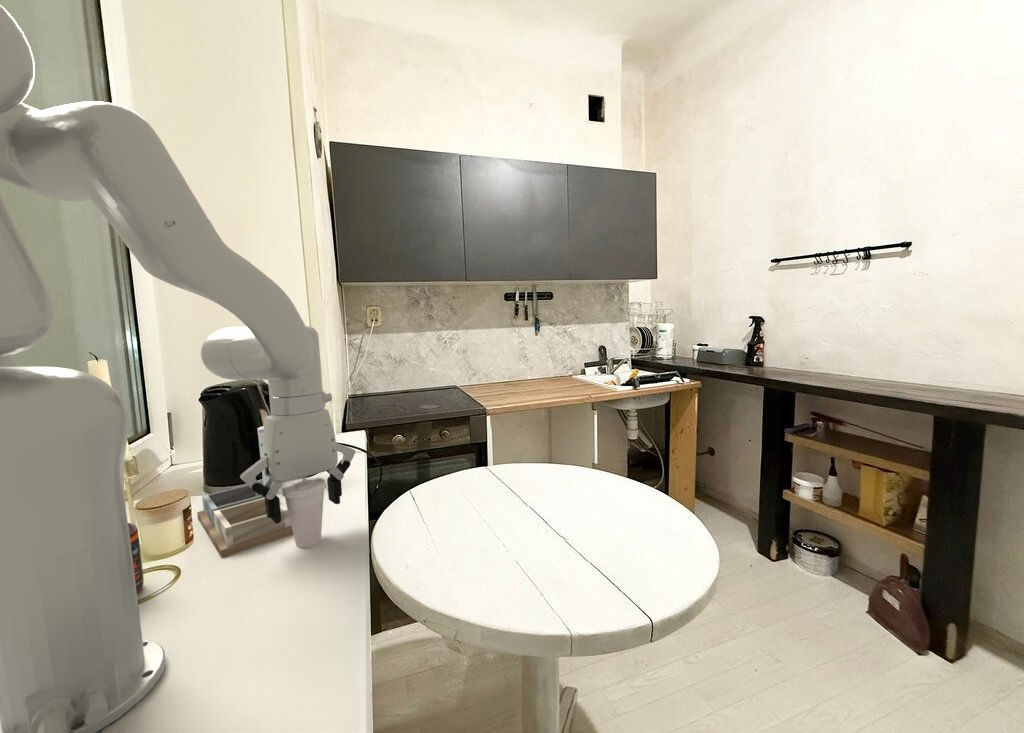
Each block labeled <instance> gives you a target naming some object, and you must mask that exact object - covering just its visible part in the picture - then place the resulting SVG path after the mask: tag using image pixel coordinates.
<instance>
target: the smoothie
mask: <svg viewBox="0 0 1024 733" xmlns="http://www.w3.org/2000/svg"><path fill="white" fill-rule="evenodd" d="M326 488H327V485H326V480H325V479H324V478H321V477H307V476H306V477H302V479H299V480H295V481H292V482H290V483H287V484H286V485H284V486H283V487H282V493H281V496H282V497H284V500H285V504H286V505H285V506H286V507H287V509H288V513H289V517H290V522H291V526H292V530H293V534H292V535H293V538H294V543H295V546H296V547H297V548H300V549H303V548H304V549H305V548H310V547H313V546H316V545H317V544H319V543H320V542H321V541H322V527H323V512H324V511H323V510H324V496H325V495H324V492H325V489H326Z"/></svg>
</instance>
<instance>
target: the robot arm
mask: <svg viewBox="0 0 1024 733" xmlns="http://www.w3.org/2000/svg"><path fill="white" fill-rule="evenodd" d="M35 67H36V66H35V59H34V56H33V52H32V49H31V46H30V44H29V42H28V39H27V38H26V35H25V33H24V31H23V30H22V29H21V27H20V26H19V25H18V23H17V21H16V19H15V18H14V17H13V16H12V15H11V13H9V12H8V11H7V10H6V8H4V7H3V6H2V5H1V4H0V181H2V182H5V183H7V184H10V185H12V186H15V187H18V188H20V189H23V190H26V191H29V192H32V193H34V194H37V195H40V196H43V197H44V196H45V197H48V198H50V199H51V198H52V199H55V200H58V201H64V202H68V201H69V202H84V201H92V203H93V204H94V205H95V206H96V208H97V209H98V210H99V211H100V212H101V214H102V215H103V217H104V218H105V220H106V221H107V222H108V223H109V225H110V226H111V227H112V229H113V230H114V231H115V232H116V234H117V235H118V237H119V238H120V239H121V240H122V242H123V243H124V244H125V246H126V247H127V248H128V250H129V251H130V252H131V254H132V256H134V258H135V260H137V262H138V263H139V265H140V266H141V267H142V269H143V270H145V272H146V273H148V274H149V275H151V276H152V277H154V278H156V279H158V280H160V281H163V282H164V283H167V284H169V285H171V286H174V287H176V288H179V289H181V290H185V291H187V292H189V293H192V294H195V295H198V296H200V297H203V298H204V299H207V300H209V301H212V302H214V303H216V304H217V305H219V306H220V307H222V308H223V309H225V310H227V311H228V312H230V313H231V314H233V315H234V316H235V317H236V318H237V319H238V320H239V321H241V322H242V323H243V324H244V325H236V326H227V327H223V328H220V329H217V330H216V331H214V332H212V333H210V334H209V335H208V336H207V337H206V338H205V340H204V341H203V342H202V345H201V348H200V349H201V350H200V357H201V361H202V363H203V365H204V367H205V368H206V369H207V370H208V371H209V372H210V373H211V374H213V375H215V376H217V377H219V378H222V379H227V380H231V381H233V380H234V381H259V380H260V381H261V380H262V381H267V382H268V384H267V385H268V394H269V396H268V397H269V408H270V415H267V416H265V417H264V422H263V426H264V430H263V457H262V458H261V457H260V459H259V460H258V461H256V462H255V463H254V464H252V465H251V466H249V468H247V469H246V470H245V471H243V472H242V473H241V474H240V476H239V478H240V479H241V480H242V481H243V482H244V484H245V485H248V486H249V487H250V488H251V489H252V490H253V491H254V492H256V493H258V494H260V495H262V496H264V497H265V506H266V515H267V517H268V518H271V519H272V520H273V521H274V522H275V523H276V524H277V523H280V522H281V510H280V502H281V501H280V500H281V499H280V497H279V496H278V495H277V494H278V493H277V492H278V490H279V488H280V487H281V485H282V483H283V482H286V481H291V480H295V479H298V478H302V477H306V478H307V477H309V476H314V475H317V474H320V473H324V472H327V473H328V474H329V476H328V477H327V479H326V481H327V492H328V493H327V494H328V495H327V496H328V500H329V502H331V503H333V504H335V505H339V504H341V497H342V495H343V492H342V491H343V490H342V480H343V478H344V475H345V473H346V472H347V471H348V469H349V468H350V466H351V462H352V461H353V458H354V456H355V455H356V450H355V449H353V448H352V447H349V446H347V445H346V446H345V445H343V444H340V443H339V442H337V440H336V436H335V435H336V434H335V430H334V426H333V421H332V418H331V414H330V411H329V409H326V403H329V402H332V401H333V395H332V393H325V391H324V389H323V379H322V365H321V364H322V361H321V350H320V340H319V339H320V338H319V333H318V331H317V330H316V329H315V328H314V327H312V326H307V325H306V324H305V322H304V320H303V319H302V316H301V315H300V313H299V311H298V310H297V307H296V306H295V304H294V303H293V301H292V299H291V298H290V297H289V296H288V294H287V293H286V292H285V291H284V290H283V289H282V288H281V286H279V285H278V284H277V283H276V282H275V281H274V280H272V279H271V278H270V277H268V275H267V274H266V273H264V272H263V271H261V270H260V269H259V268H257V266H255V264H252V263H251V262H250V261H249V260H248V259H246V258H244V257H243V256H242V255H240V254H239V253H237V252H236V251H234V250H232V249H231V248H230V247H229V246H228V245H227V244H226V243H225V242H224V241H223V239H222V238H221V236H220V235H219V234H218V232H217V230H216V228H215V227H214V225H213V224H212V222H211V220H210V218H209V217H208V216H207V214H206V212H205V211H204V209H203V208H202V206H201V204H200V203H199V201H198V199H197V197H196V196H195V194H194V193H193V191H192V190H191V188H190V186H189V184H188V183H187V180H186V179H185V178H184V176H183V174H182V172H181V170H180V169H179V168H178V166H177V164H176V163H175V162H174V159H173V158H172V157H171V154H170V153H169V151H168V150H167V148H166V146H165V145H164V143H163V142H162V140H161V138H160V137H159V135H158V134H157V133H156V131H155V129H154V128H153V127H152V126H151V124H149V123H148V121H147V120H146V119H144V117H142V116H141V115H140V114H138V113H137V112H136V111H134V110H132V109H130V108H128V107H126V106H123V105H121V104H118V103H113V102H105V101H95V100H93V101H80V102H74V103H69V104H68V103H67V104H63V105H59V106H53V107H50V108H46V109H43V110H40V109H38V108H35V107H33V106H30V105H28V104H25V103H24V100H25V99H26V98H27V96H28V95H29V93H30V92H31V90H32V87H33V86H34V82H35V73H36V71H35V70H36V69H35ZM32 258H33V257H32V256H31V254H30V252H29V250H28V248H27V245H25V242H24V240H23V239H22V236H21V235H20V232H19V231H18V229H17V227H16V225H15V223H14V221H13V218H12V217H11V215H10V213H9V211H8V209H7V207H6V205H5V203H4V201H3V198H2V196H1V195H0V733H97V732H99V731H100V730H102V729H103V728H105V727H107V726H108V725H110V724H112V723H113V722H115V721H116V720H117V719H119V718H120V717H121V716H123V715H124V714H126V713H127V712H128V711H130V710H131V709H132V708H134V706H136V705H137V704H138V703H139V702H140V701H141V700H142V699H144V697H145V696H146V695H147V694H148V693H149V692H150V691H151V690H152V689H153V688H154V687H155V685H156V683H157V682H158V681H159V680H160V678H161V677H162V674H163V672H164V670H165V666H166V655H165V650H164V648H163V647H162V645H161V644H160V643H158V642H156V641H153V640H149V639H143V632H142V625H141V617H140V608H139V600H138V594H137V591H136V583H135V575H134V567H133V559H132V551H131V542H130V534H129V526H128V523H129V522H128V517H127V516H128V513H127V505H126V497H125V479H124V478H125V476H124V475H125V471H124V470H125V457H126V450H127V443H128V435H129V418H128V417H129V416H128V410H127V407H126V405H125V403H124V401H123V399H122V397H121V396H120V394H119V393H118V392H117V391H116V389H115V388H114V387H112V386H111V385H110V384H108V382H106V381H104V380H103V379H100V378H99V377H97V376H95V375H93V374H90V373H88V372H85V371H80V370H76V369H73V368H67V367H57V366H20V365H19V363H18V361H17V359H16V358H15V356H14V355H16V354H19V353H21V352H25V351H27V350H29V349H32V348H34V347H36V346H38V344H41V342H43V341H45V339H46V338H47V337H48V336H49V335H50V334H51V332H52V330H53V328H54V326H55V323H56V308H55V304H54V300H53V298H52V296H51V293H50V291H49V290H48V288H47V285H46V283H45V281H44V280H43V277H42V275H41V274H40V272H39V270H38V267H37V266H36V264H35V262H34V260H33V259H32ZM338 453H341V454H342V458H341V460H339V461H338V458H339V457H338V456H339V455H338ZM263 470H264V473H265V475H266V476H269V478H268V480H267V482H266V483H265V485H263V483H260V482H259V481H258V480H257V479H256V477H257V476H258V475H260V474H261V473H262V471H263Z"/></svg>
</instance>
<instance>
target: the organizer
mask: <svg viewBox="0 0 1024 733" xmlns="http://www.w3.org/2000/svg"><path fill="white" fill-rule="evenodd" d="M201 498H202V505H203V506H202V507H203V510H200V511H197V512H196V514H197V516H196V517H197V519H198V521H199V523H200V525H201V526H202V528H203V530H204V531H205V533H206V535H207V536H208V538H209V539H210V542H211V543H212V544H213V546H214V548H215V550H216V551H217V553H218V555H219V557H220V558H221V559H222V558H225V557H228V556H231V555H234V554H237V553H240V552H242V551H246V550H249V549H252V548H255V547H257V546H259V545H263V544H266V543H269V542H272V541H275V540H278V539H281V538H284V537H287V536H290V535H294V534H293V530H292V526H291V522H290V517H289V513H288V509H287V505H285V504H284V503H282V502H281V501H280V510H281V522H280V523H277V524H276V523H275V522H274V521H273V520H272V519H271V518H268V517H267V515H266V506H265V497H264V496H262V495H260V494H258V493H256V492H254V491H253V490H252V489H251V488H250V487H249V486H248V485H247V484H243V485H239V486H236V487H231V488H229V489H228V488H227V489H223V490H220V491H216V492H212V493H207V494H204V495H203V494H202V496H201Z"/></svg>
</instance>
